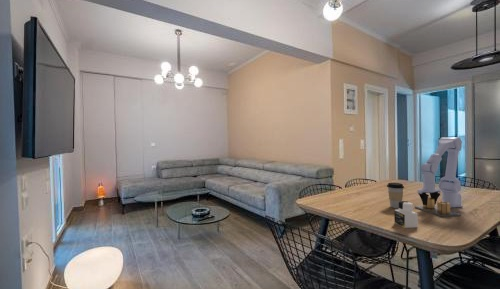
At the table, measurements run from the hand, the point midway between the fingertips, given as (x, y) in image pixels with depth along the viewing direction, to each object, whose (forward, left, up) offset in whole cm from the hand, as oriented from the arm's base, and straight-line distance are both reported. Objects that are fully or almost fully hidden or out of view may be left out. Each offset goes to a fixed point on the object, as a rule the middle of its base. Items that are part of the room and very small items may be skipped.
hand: (429, 204), depth 142 cm
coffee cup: (+16, -8, -3) cm, 18 cm away
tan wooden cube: (0, 0, -2) cm, 2 cm away
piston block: (0, +5, -3) cm, 5 cm away
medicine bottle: (+35, +20, -3) cm, 40 cm away
